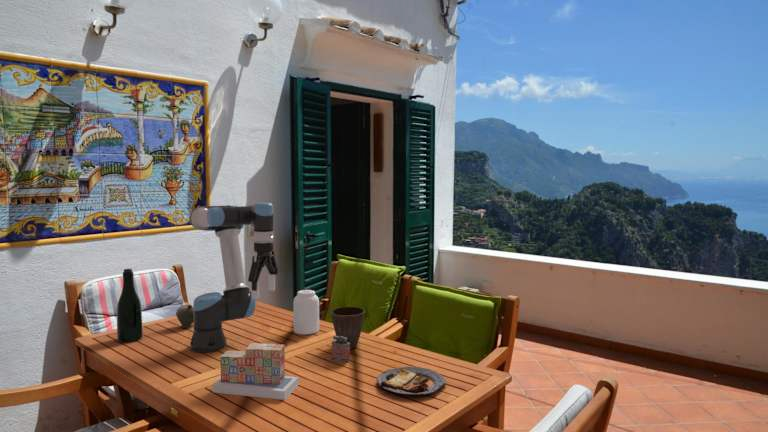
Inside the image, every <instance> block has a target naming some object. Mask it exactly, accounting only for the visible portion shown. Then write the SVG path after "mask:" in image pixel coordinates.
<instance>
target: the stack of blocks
mask: <svg viewBox="0 0 768 432" xmlns="http://www.w3.org/2000/svg"><path fill="white" fill-rule="evenodd" d="M285 357H286V354H285V344H283V343H282V344H281V343H280V344H277V343H255V342H253V343H252V342H251V343H250V344H249V345H248V346H247V347H246V348H245V351H243V350H226V351H225V352H224V353H223V354H222V355H221V356H220V358H219V359H220V361H219V363H220V378H221V382H239V383H263V384H280V383H281V382H282V380H283V379H284V377H285V376H286V375H285V374H286V373H285V363H286V362H285V360H286V358H285Z"/></svg>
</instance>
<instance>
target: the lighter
mask: <svg viewBox="0 0 768 432" xmlns="http://www.w3.org/2000/svg"><path fill="white" fill-rule="evenodd" d="M332 339H333V340H332V341H331V360H332V361H334V362H339V363H349V362H351V357H350V353H351V352H350V350H351V349H350V343H349V342H347V338H345V337H343V336H341V337H339V336H336V335H333V337H332ZM338 340H339V341H338Z"/></svg>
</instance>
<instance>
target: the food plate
mask: <svg viewBox="0 0 768 432" xmlns="http://www.w3.org/2000/svg"><path fill="white" fill-rule="evenodd" d="M428 381H430V382H431V384H430V383H428ZM376 382H377V384H378V387H380V388H382V389H383V390H385V391H389V392H392V393H395V394H397V395H407V396H408V395H409V396H411V395H412V396H423V395H424V396H426V395H427V394H432V393H434V392H436V391H438V390H439V389H440V388H441V387H443V385H445V384H446V383H447V379H446V378H445V377H444V376H443V375H442V374H440V373H439V372H437V371H435V370H432V369H429V368H425V367H420V366H397V367H394V368H391V369H390V368H389V369H386V370H385V371H384V372H382V373H381V374H380V375H378V376H377V377H376ZM431 385H432V386H431Z"/></svg>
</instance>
